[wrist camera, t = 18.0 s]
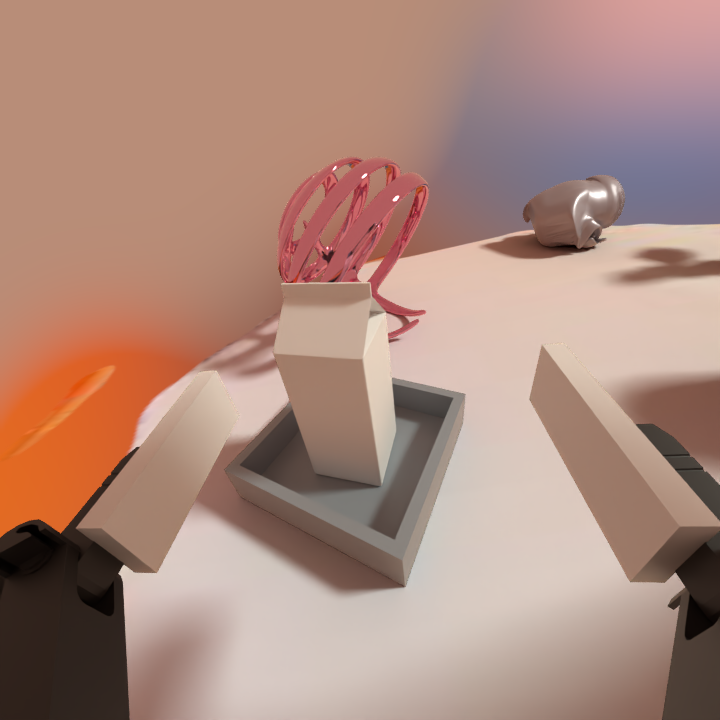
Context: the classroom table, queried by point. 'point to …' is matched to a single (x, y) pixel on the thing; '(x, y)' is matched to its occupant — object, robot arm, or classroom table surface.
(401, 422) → the tray
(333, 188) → the spiral basket
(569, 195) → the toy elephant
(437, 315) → the classroom table surface
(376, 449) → the milk carton
